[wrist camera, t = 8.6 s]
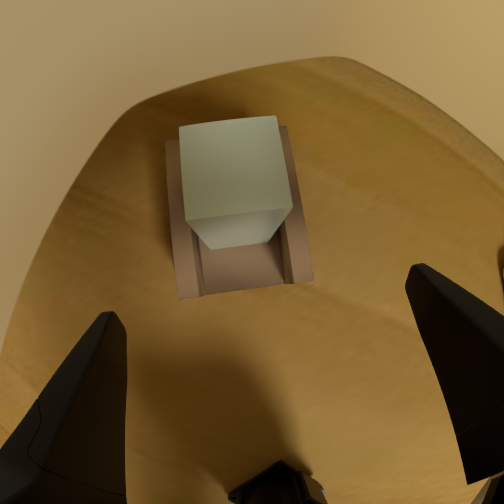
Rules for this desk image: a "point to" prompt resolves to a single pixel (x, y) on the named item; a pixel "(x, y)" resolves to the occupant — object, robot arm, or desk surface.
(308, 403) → the desk surface
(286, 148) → the wooden channel cradle
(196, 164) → the clay bar
